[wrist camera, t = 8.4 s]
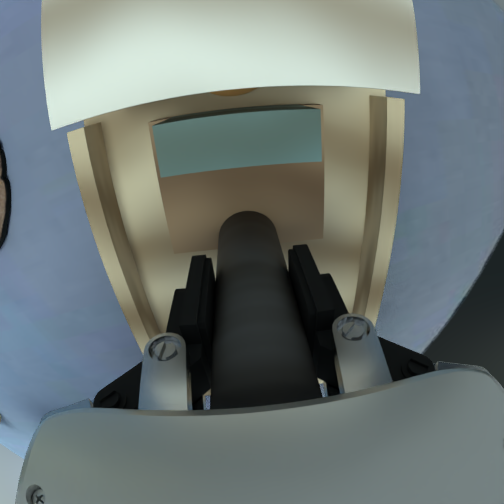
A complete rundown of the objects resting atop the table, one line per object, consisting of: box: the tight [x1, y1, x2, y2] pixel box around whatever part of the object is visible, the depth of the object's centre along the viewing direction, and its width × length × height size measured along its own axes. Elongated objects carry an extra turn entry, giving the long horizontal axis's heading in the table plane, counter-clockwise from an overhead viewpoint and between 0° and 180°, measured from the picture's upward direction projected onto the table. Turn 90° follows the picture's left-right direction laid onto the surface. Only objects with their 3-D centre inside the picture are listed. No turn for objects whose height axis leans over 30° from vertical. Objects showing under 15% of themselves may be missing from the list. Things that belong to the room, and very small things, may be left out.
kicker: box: [148, 104, 324, 410], centre depth 10 cm, size 8×8×11 cm
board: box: [41, 0, 420, 396], centre depth 15 cm, size 30×16×8 cm, turn 5°
